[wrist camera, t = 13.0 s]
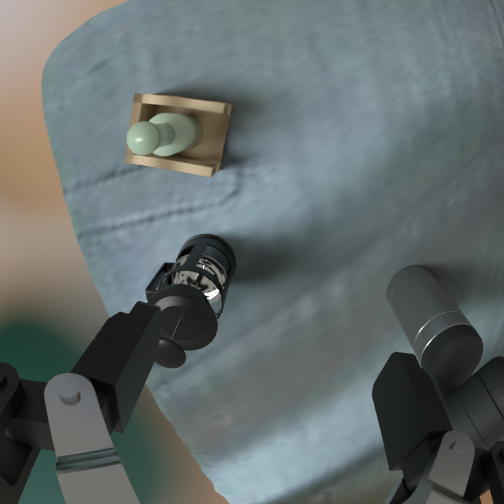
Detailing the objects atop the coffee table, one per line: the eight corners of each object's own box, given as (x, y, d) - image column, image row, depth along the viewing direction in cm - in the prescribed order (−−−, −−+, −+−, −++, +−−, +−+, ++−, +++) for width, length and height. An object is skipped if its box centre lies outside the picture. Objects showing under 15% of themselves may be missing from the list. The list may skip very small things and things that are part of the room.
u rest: (232, 104, 41) (225, 101, 35) (219, 170, 45) (210, 179, 39) (154, 94, 41) (135, 91, 35) (144, 157, 45) (124, 164, 39)
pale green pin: (205, 116, 41) (170, 115, 27) (199, 151, 43) (162, 167, 29) (171, 111, 41) (122, 110, 27) (165, 146, 43) (116, 160, 29)
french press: (240, 235, 49) (213, 324, 28) (240, 287, 53) (219, 391, 32) (167, 232, 50) (101, 313, 29) (172, 283, 54) (121, 377, 33)
